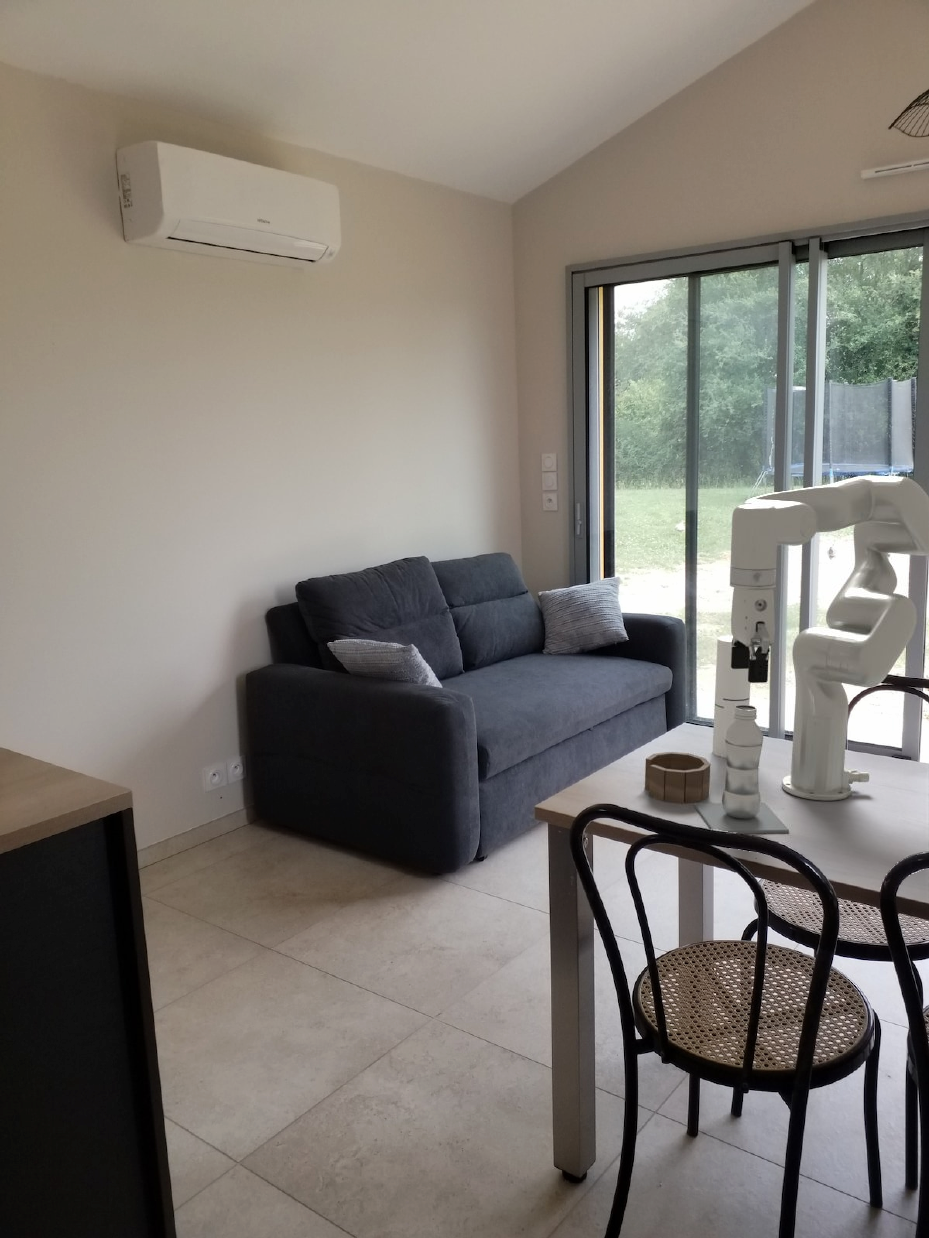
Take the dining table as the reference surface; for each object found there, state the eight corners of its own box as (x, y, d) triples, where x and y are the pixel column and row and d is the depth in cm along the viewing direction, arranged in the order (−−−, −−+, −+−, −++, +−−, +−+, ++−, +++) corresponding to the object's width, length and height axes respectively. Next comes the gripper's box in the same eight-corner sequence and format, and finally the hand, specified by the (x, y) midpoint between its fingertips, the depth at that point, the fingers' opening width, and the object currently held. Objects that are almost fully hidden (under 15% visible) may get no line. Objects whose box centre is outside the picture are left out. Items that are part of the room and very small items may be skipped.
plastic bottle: (761, 824, 175) (767, 713, 171) (721, 821, 176) (726, 711, 172) (758, 810, 181) (764, 703, 177) (720, 808, 182) (725, 701, 179)
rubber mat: (764, 804, 185) (764, 802, 185) (788, 832, 172) (789, 829, 172) (694, 805, 185) (694, 803, 185) (713, 833, 172) (713, 830, 172)
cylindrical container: (740, 760, 210) (746, 643, 206) (707, 754, 214) (712, 640, 210) (751, 751, 216) (757, 638, 212) (719, 746, 220) (724, 634, 215)
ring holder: (698, 780, 198) (699, 751, 197) (715, 802, 186) (716, 771, 185) (640, 781, 198) (641, 752, 197) (653, 803, 186) (654, 772, 185)
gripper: (792, 585, 162) (787, 687, 166) (758, 570, 179) (754, 663, 182) (746, 586, 162) (742, 688, 165) (716, 570, 179) (713, 664, 182)
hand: (748, 675), depth 174 cm, fingers open, 9 cm apart
